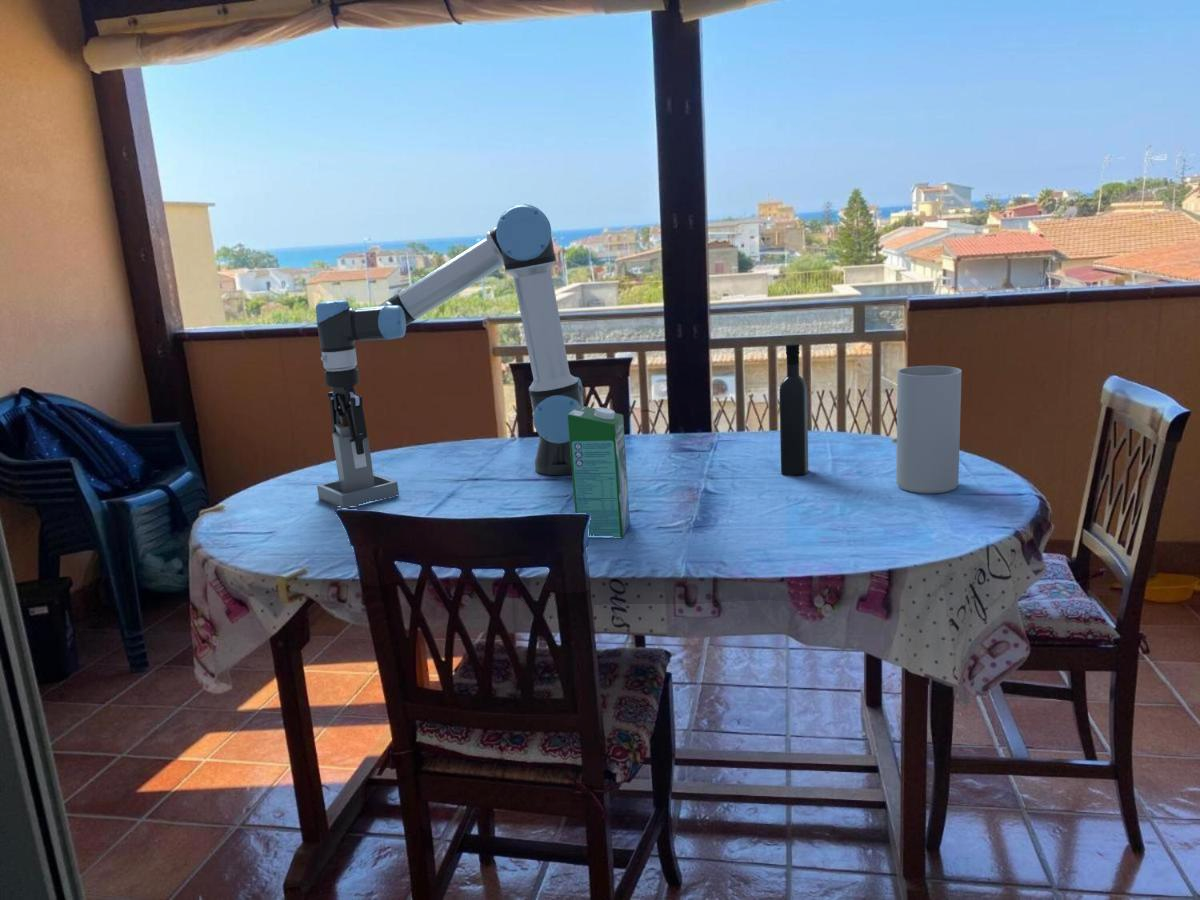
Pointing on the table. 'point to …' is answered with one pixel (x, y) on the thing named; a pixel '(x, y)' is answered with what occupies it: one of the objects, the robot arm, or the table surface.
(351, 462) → the perfume bottle
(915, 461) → the cylinder vase
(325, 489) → the tray
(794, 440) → the wine bottle
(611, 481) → the milk carton
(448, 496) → the table surface
